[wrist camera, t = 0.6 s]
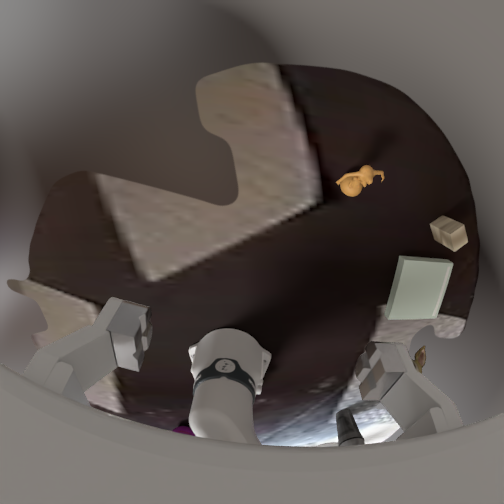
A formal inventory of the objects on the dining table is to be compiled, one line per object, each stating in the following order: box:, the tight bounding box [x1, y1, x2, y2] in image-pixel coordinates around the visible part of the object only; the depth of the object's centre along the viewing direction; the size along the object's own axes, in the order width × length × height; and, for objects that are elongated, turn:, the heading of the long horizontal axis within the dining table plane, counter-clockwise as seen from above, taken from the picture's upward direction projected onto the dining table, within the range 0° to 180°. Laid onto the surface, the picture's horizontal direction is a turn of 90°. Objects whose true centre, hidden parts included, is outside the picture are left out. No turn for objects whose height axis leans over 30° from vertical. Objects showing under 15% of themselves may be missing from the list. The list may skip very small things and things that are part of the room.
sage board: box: [384, 256, 453, 320], centre depth 55 cm, size 14×14×3 cm
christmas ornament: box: [172, 426, 195, 436], centre depth 69 cm, size 8×8×10 cm
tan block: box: [430, 215, 468, 252], centre depth 48 cm, size 4×4×8 cm
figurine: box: [337, 165, 384, 196], centre depth 44 cm, size 8×6×12 cm
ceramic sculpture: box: [411, 346, 426, 374], centre depth 60 cm, size 11×9×15 cm
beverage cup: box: [336, 409, 364, 446], centre depth 61 cm, size 7×7×20 cm
